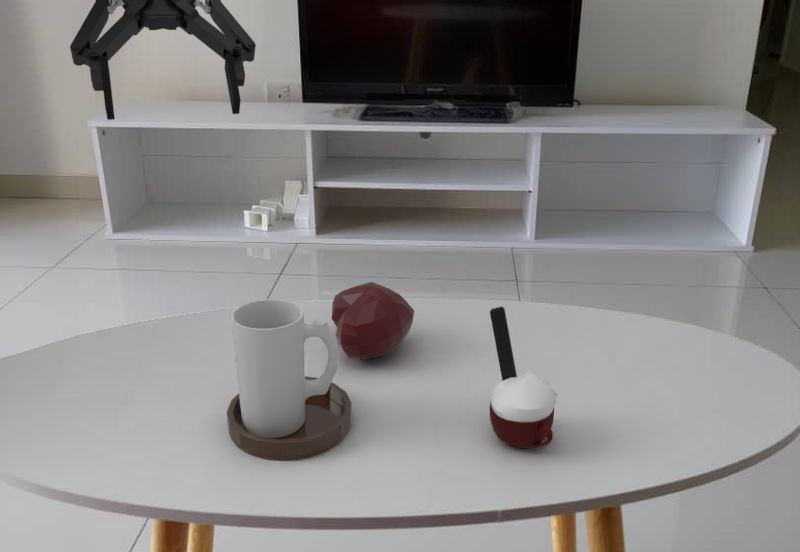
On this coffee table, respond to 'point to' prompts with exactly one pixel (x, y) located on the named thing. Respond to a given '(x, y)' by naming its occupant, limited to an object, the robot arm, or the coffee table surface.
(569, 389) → the coffee table surface
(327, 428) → the tray
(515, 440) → the cocoa
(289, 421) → the mug
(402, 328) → the heart
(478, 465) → the coffee table surface
